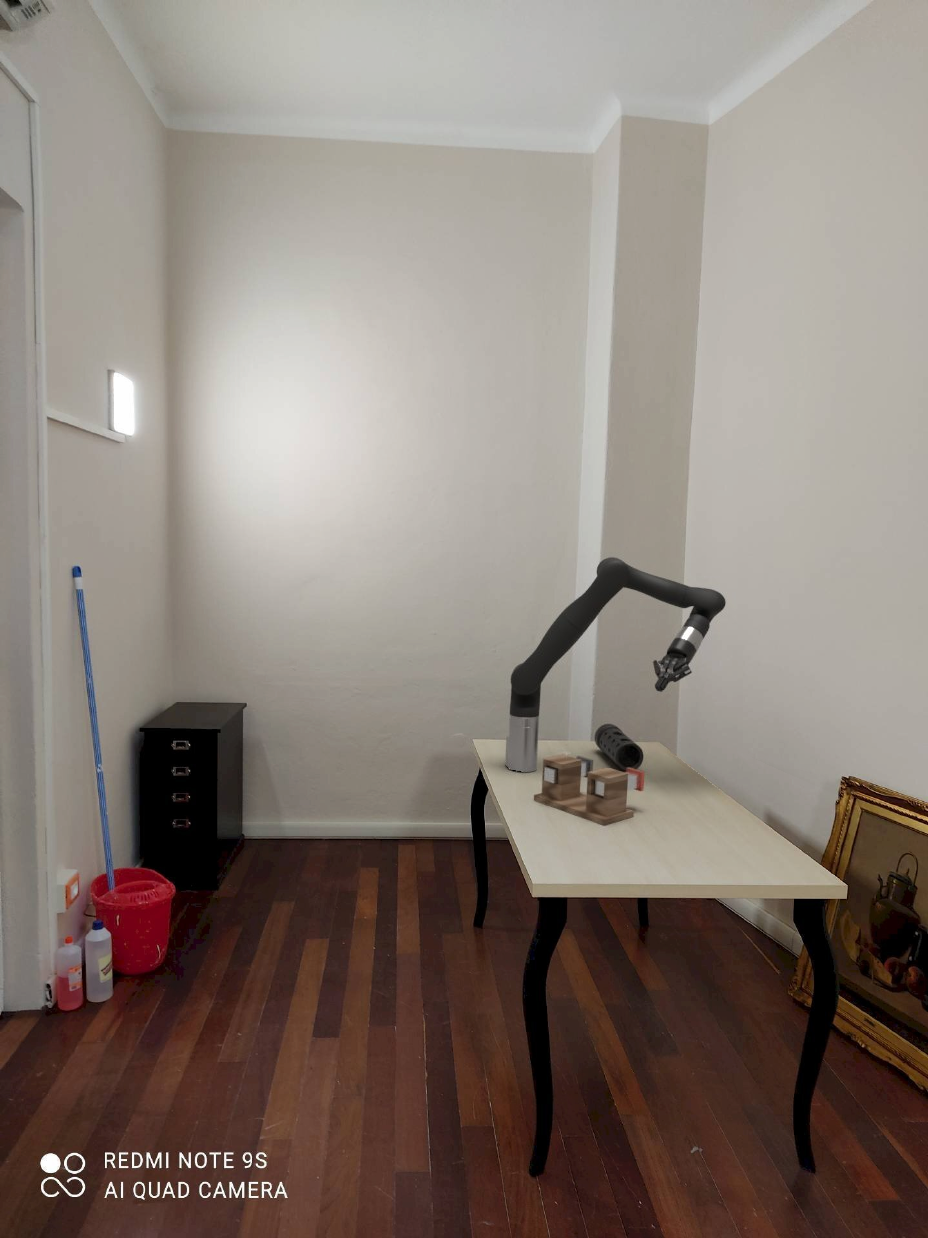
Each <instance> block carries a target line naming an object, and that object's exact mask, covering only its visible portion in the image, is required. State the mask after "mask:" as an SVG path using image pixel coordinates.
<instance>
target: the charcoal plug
mask: <svg viewBox="0 0 928 1238" xmlns="http://www.w3.org/2000/svg"><path fill="white" fill-rule="evenodd" d="M576 758H577V759H580V760H582V764H581V778H582V777H584V778H587V777H588V772H590V771H594V759H592V758H587V757H584V756H581V755H577V756H576ZM544 780H545V781H548V782H551V783H557V782H558V768H555V767H551V766H549V767H545V773H544Z"/></svg>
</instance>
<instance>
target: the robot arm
mask: <svg viewBox="0 0 928 1238" xmlns="http://www.w3.org/2000/svg"><path fill="white" fill-rule="evenodd" d="M623 589H629V590H632V591H636V592H639V593H642V594H644V595H646V596H648V597H651V598H653V599H656V600H657V601H660V602H662V603H666V604H668V605H671V606H675V607H677V608H681V609H688V608H691V607H692V608H691V611H690V613H689V616H688V618H687V619H686V621H685V622H684V624H683V625H682V627H681V628H680V630H679V631H678V632H677V633H676V635H675V637H674V639H673V640H672V642H671V643H670V645H669V646H668V648H667V650H666V654H665V655H664V656H663V657H662V659H660V660H659V661H657V659H656V660H653V662H652V663H653V669H654V673H655V675H656V677H657V680H656V682H655V684H654V688H655V690H656V691H657V692H660V693H661V692H663V691H665V689H666V688H667V686H668V685H669V684H670V683H671V682H673V683H676V682H678V681H680V680H682V679H683V678H685V677H687V676H689V675H690V674H692V673H693V671H692V669H691V667H690V666H689V665H690V663H691V662H692V660H693V658H694V657H695V655H696V653H697V652H698V650H699V648H700V647H701V645H702V642H703V640H704V638H705V637H706V635H707V633H708V632H709V630H710V627H711V625H710V624H711V622H712V621H713V619H714V618H715V617H716V616H717V615H718V614H720V613H721V612H722V611H723V610H724V609H725V606H726V603H727V602H726V598H725V596H724V594H722V593H721V592H719V591H717V590H714V589H711V588H706V587H699V586H698V587H696V586H689V585H686V584H684V583H680V582H677V581H674V580H672V579H667V578H664V577H660V576H657V575H654V574H650V573H648V572H645V571H642V570H640V569H638V568H635V567H633V566H631V565H629V564H628V563H626V562H625V561H623V560H622V559H620V558H618V557H613V556H611V557H606V558H604V559H602V560H601V561H599V563H598V565H597V567H596V577H595V578H594V580H593V582H592V583H591V584H590V585H589V587H588V588H587V589H586V590H585V592H583V593H582V594H581V595H580V596H579V597H578V598H576V599H575V600H573V602H571V603H570V604H568V605H567V607H565V608H564V609H563V611H561V613H560V614H559V615H558V616H557V617H556V618H555V620H554V621H553V622H552V624H551V625H550V627H549V628H548V629H547V631H546V632H545V634H544V635H543V637H542V639H541V641H540V642H539V643H538V645H537V647H536V649H534V651H533V652H532V653H531V654H530V655H529V656H528V658H526V660H524V661H523V662H522V663H519V664H518V665H516V666H515V668H513V670H512V672H511V675H510V684H511V688H510V703H509V718H508V719H509V722H508V724H509V725H508V736H506V738H505V739H506V740H505V760H504V761H505V762H504V765H506V766H507V767H508V768H510V769H511V770H510V769H509V770H510V771H512V770H516V771H515V772H517V771H521V772H520V773H531V772H535V771H537V769H538V750H539V731H540V730H539V727H540V724H539V723H540V706H541V692H542V691H541V690H542V689H541V688H542V687H541V686H542V682H543V681H544V680H545V678H546V677H547V675H548V674H549V672H550V671H551V669H552V668H553V667H554V666H555V664H556V663H557V662H558V661H560V659H562V658H563V656H565V655H566V653H568V652H569V651H570V650H571V648H572V647H573V646H574V645H575V644H576V643H577V642H578V641H579V639H580V638H581V637H582V636H583V635H584V634H585V633H586V631H587V630H588V628H589V627H590V626H591V625H592V623H593V622H595V619H596V618H597V617H598V615H599V614H600V613H601V612H602V610H603V609H604V607H606V605H607V604H608V603H609V602H610V601H611V600H612V599H613V598H614V597H615V596H616V595H617V594H618V593H619V592H620V591H622V590H623ZM506 766H505V767H506ZM507 767H506V768H507ZM508 768H507V769H508Z"/></svg>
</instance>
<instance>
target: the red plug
mask: <svg viewBox="0 0 928 1238" xmlns="http://www.w3.org/2000/svg"><path fill="white" fill-rule="evenodd" d="M624 772H625V771H624ZM625 773H628V786H627V792H628V791H633V790H635V791H638V792H643V791H645V790H644V789H645V788H644V786H645V773H646V772H645V771H642V770H639V769H633V768H626V772H625ZM595 794H598V795H601V796H604V783H603V782H600V781H596V780H595Z"/></svg>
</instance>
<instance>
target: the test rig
mask: <svg viewBox="0 0 928 1238" xmlns="http://www.w3.org/2000/svg"><path fill="white" fill-rule="evenodd" d="M581 764H582V760H580V759H577V757H573V756H569V755H565V754H558V755H554V756H549V757H544V758H543V759H542V776H541V777H542V779H541V792H540V793H537V794H533V801H536V802H537V803H540V804H544V805H546V806H548V807H552V808H555V809H558V810H560V811H563V812H566V813H568V814H572V815H574V816H577V817H579V818H583V819H586V820H588V821H591V822H594V823H597V824H600V825H602V826H607V825H610V824H613V823H617V822H619V821H624V820H627V819H629V818H632V817H634V813H635V812H634V810H632V809H629V808H627V799H628V791H627V786H628V773H625V771H621V770H618V769H614V768H610V767H604V768H598V769H595V770H593V771H590V772H588V777H587V781H586V783H587V784H586V794H583V793H581V781H582V780H581V779H582V777H581ZM549 766H551V767H555V768H558V782H557V783H551V782H548V781H545V780H544V773H545V767H549ZM595 780H596V781H600V782H603V783H604V796H601V795H598V794H595Z"/></svg>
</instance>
